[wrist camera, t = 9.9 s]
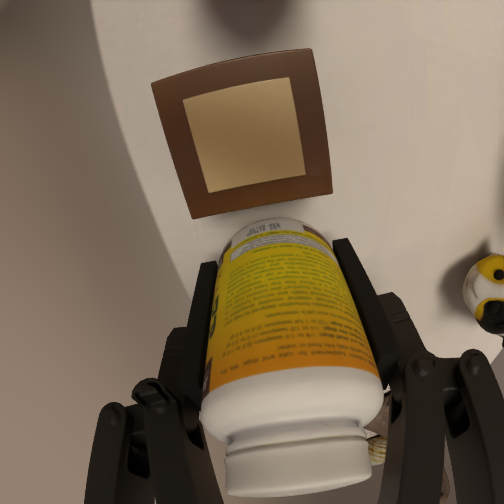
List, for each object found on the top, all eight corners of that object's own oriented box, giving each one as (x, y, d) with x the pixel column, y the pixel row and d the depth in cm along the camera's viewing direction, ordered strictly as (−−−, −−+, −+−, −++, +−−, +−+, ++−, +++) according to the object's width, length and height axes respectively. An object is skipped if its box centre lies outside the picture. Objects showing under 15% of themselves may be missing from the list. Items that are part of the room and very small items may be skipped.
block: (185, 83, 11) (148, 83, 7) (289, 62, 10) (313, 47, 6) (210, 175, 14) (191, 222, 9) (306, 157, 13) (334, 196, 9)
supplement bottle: (203, 226, 12) (150, 481, 4) (327, 201, 11) (435, 449, 3) (235, 311, 15) (230, 498, 7) (333, 293, 15) (381, 478, 6)
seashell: (418, 424, 42) (411, 464, 37) (385, 424, 50) (379, 460, 45) (396, 428, 38) (387, 473, 33) (360, 426, 46) (352, 466, 41)
